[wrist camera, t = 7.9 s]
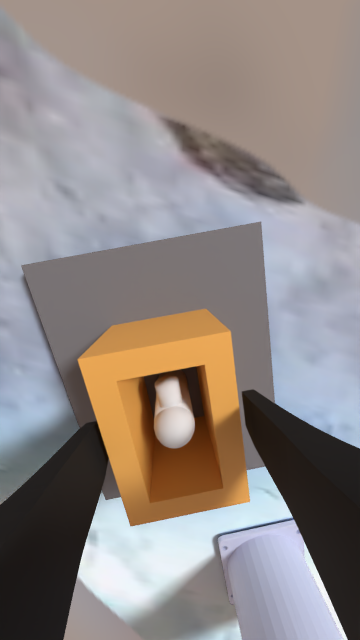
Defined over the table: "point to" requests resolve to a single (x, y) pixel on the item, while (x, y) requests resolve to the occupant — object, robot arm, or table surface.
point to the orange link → (138, 423)
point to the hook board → (156, 301)
